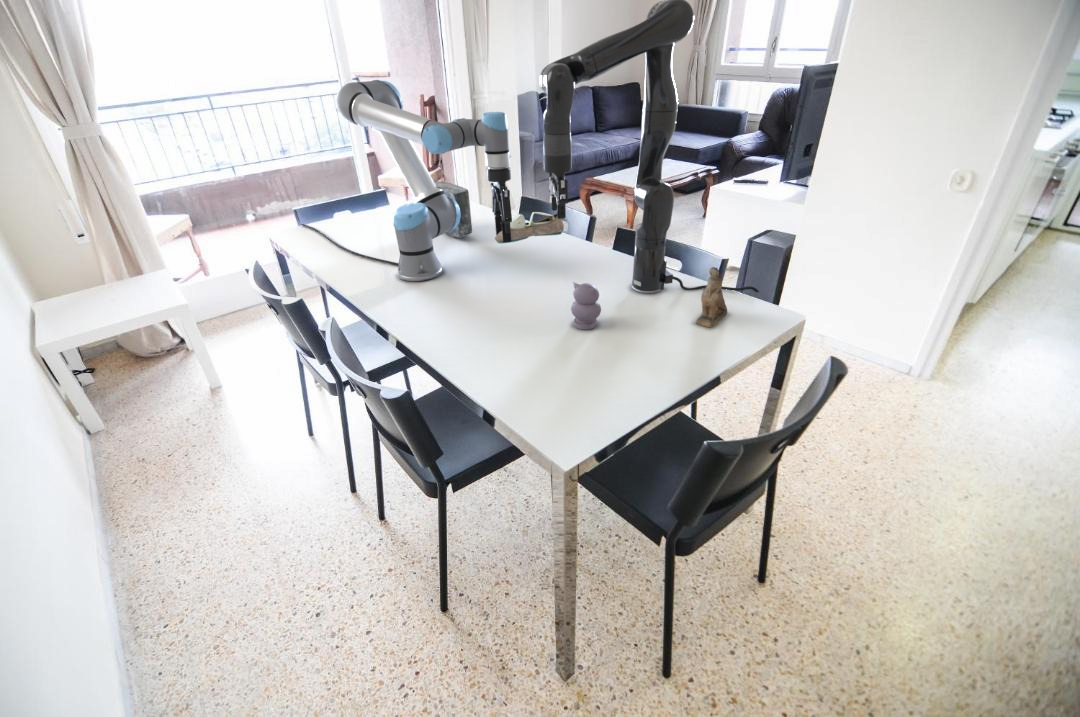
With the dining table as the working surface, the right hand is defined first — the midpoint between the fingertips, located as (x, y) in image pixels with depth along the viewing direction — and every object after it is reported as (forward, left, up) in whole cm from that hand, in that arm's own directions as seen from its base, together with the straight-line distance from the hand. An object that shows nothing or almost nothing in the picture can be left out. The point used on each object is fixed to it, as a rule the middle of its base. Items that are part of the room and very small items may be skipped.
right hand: (558, 214), depth 138 cm
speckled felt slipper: (+2, -30, -15) cm, 33 cm away
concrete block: (+24, -80, -27) cm, 88 cm away
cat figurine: (-3, +17, -27) cm, 32 cm away
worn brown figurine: (-37, +25, -27) cm, 52 cm away
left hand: (+11, -29, -14) cm, 34 cm away
